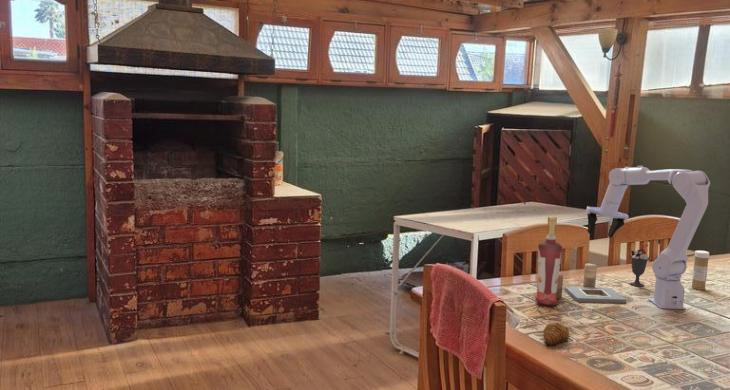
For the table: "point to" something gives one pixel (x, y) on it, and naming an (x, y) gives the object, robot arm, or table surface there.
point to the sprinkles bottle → (700, 270)
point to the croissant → (555, 334)
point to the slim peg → (589, 275)
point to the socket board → (607, 297)
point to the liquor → (548, 266)
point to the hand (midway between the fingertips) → (599, 234)
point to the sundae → (638, 264)
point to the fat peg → (559, 286)
